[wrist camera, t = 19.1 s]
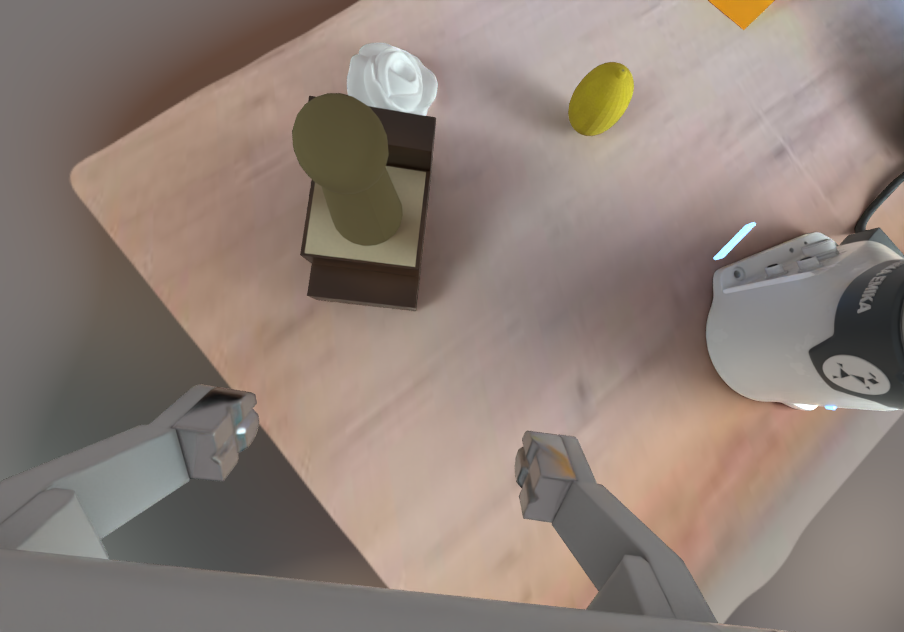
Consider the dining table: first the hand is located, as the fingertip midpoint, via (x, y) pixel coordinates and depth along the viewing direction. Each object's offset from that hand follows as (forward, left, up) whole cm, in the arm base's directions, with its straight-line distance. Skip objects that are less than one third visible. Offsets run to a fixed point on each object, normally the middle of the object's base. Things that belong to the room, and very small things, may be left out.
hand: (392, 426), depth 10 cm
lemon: (-31, -13, -24) cm, 41 cm away
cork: (-4, -14, -17) cm, 22 cm away
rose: (-14, -26, -24) cm, 38 cm away
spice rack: (-4, -14, -23) cm, 27 cm away
